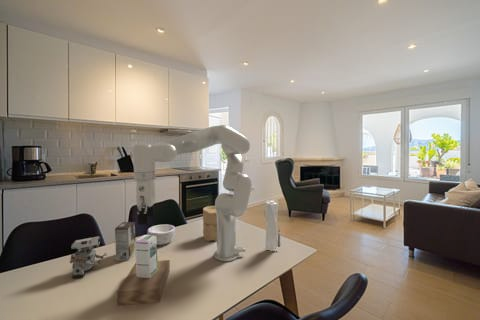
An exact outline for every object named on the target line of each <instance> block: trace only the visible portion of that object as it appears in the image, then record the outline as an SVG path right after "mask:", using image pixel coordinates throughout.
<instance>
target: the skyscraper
mask: <svg viewBox="0 0 480 320" xmlns="http://www.w3.org/2000/svg"><path fill="white" fill-rule="evenodd" d="M279 205H280V203H279V201H278V200H277V199H269V200H265V201H264V209H265V213H264V215H265V223H266V226H265V251H266V250H272V251H275V249H276V247H277V246H278V247H280V246H281V228H280V224H279V225H278V226H277V221H278V216H279ZM281 247H282V246H281ZM272 251H271V252H272Z"/></svg>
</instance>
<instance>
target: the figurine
mask: <svg viewBox="0 0 480 320" xmlns="http://www.w3.org/2000/svg"><path fill="white" fill-rule="evenodd" d="M100 243H101V237H100V236H98V235H96V236H94V237H93V236H92V237H88V238H83V239H76V240H74V241H73V243H72V244H71V247H70V248H71V250H73V249H76V250H77V251H76V252H74V253H72V254H71V255H70V261H69V263H70V264H72V267H71V269H72V275H71V276H72V277H71V278H72V279H78V278H79V279H82V278H84V277H85V276H86V275H85V271H89V270H91V269H93V267H95V266H96V265H97V264H99V265H100V263H101V260H103V259H104V257H105V256H108V254H107V252H105V253H104V254H103V255H100V254H96V253H97V251H96V249H95V248H98V247H99V246H100ZM95 259H99V260H98V261H97V262H95ZM100 259H101V260H100Z"/></svg>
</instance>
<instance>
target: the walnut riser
mask: <svg viewBox="0 0 480 320" xmlns="http://www.w3.org/2000/svg"><path fill="white" fill-rule="evenodd" d="M170 262H171V261H170V259H168V260H167V259H165V260H164V259H162V260H157V263H158V270H157V271H156V272H155V273H154V274H153V275H152V276H151V278H142V277H137V271H136V262H135V264H134V265H133V267H132V268H131V269H130V271H129V273H128V274H127V276H126V277H125V279H124V280H123V281H122V284H120V287H119V288H118V290H117V292H116V293H117V306H126V305H128V306H131V305H139V304H150V303H160V302H161V299H162V296H163V293H164V290H165V287H166V284H167V282H168V281H167V280H168V277H169V275H170V271H171V269H170V268H171V267H170V266H171V265H170Z"/></svg>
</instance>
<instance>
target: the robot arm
mask: <svg viewBox="0 0 480 320" xmlns="http://www.w3.org/2000/svg"><path fill="white" fill-rule="evenodd" d="M215 145H220V146H221V150H222V151H223V152H224V154H225V157H226V160H227V163H226V167H225V172H224V177H223V180H222V186H223V189H225V190H226V191H228V192H232V193H233V194H232V193H225V192H222V193H220V194H218V195H217V197H216V198H215V201H214V206H215V208H216V214H217V241H216V250H215V251H214V253H213V257H214V259H216V260H218V261H220V262H232V261H234V260H237V259H238V258H239V257H240V253H245V252H246V247H242V246H237V242H236V241H237V238H236V237H237V232H236V231H237V219H236V218H240V217H242V216H243V215H244V214H245V213H246V211H247V207H248V205H249V200H250V196H251V192H252V180H251V178H250V176H249V175H247V174H245V173H243V171H244V165H245V163H244V162H245V161H244V158H243V156H242V155H245V154H247V153H248V152H249V151H250V148H251V143H250V140H249V139H248V137H247V136H244V135H243V134H242V133H240V132H238V131H237V130H236V129H234V128H232V127H230V126H228V125H226V124H221V125H214V126H210V127H205V128H203V129H200V130H196V131H193V132H190V133H186V134H182V135H180V136H177V137H174V138H170V139H167V140H164V141H160V142H157V143H155V144H150V143H137V144H134V145H133V147H132V153H133V154H132V157H133V159H132V160H133V179H134V181H133V182H136V184H135V185H136V186H135V188H136V189H135V191H136V193H135V196H136V198H135V201H136V206H137V207H136V208H137V224H138V225H140V226H141V225H143V226H145V225H147V224H148V217H154V216H155V206H154V205H155V203H156V201H157V196H156V185H155V180H156V178H157V177H156V162H158V163H169V162H172V161H173V160H175V159H176V157H177V155H182V154H190V153H196V152H199V151H202V150H204V149H207V148H209V147H213V146H215Z"/></svg>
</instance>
